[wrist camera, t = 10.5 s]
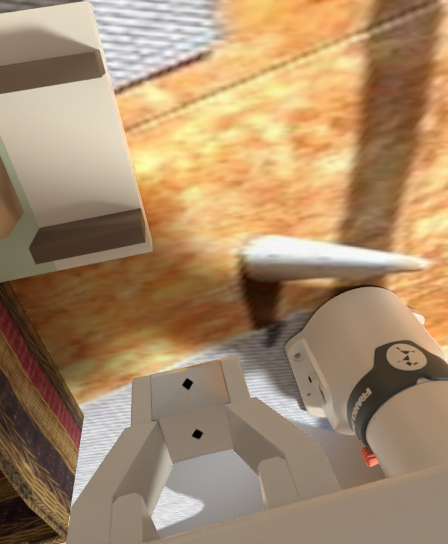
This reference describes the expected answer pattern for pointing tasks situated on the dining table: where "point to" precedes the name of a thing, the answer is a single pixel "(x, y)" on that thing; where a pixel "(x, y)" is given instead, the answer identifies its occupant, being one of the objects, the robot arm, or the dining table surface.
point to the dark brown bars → (85, 232)
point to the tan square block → (8, 204)
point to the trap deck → (62, 140)
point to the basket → (33, 434)
